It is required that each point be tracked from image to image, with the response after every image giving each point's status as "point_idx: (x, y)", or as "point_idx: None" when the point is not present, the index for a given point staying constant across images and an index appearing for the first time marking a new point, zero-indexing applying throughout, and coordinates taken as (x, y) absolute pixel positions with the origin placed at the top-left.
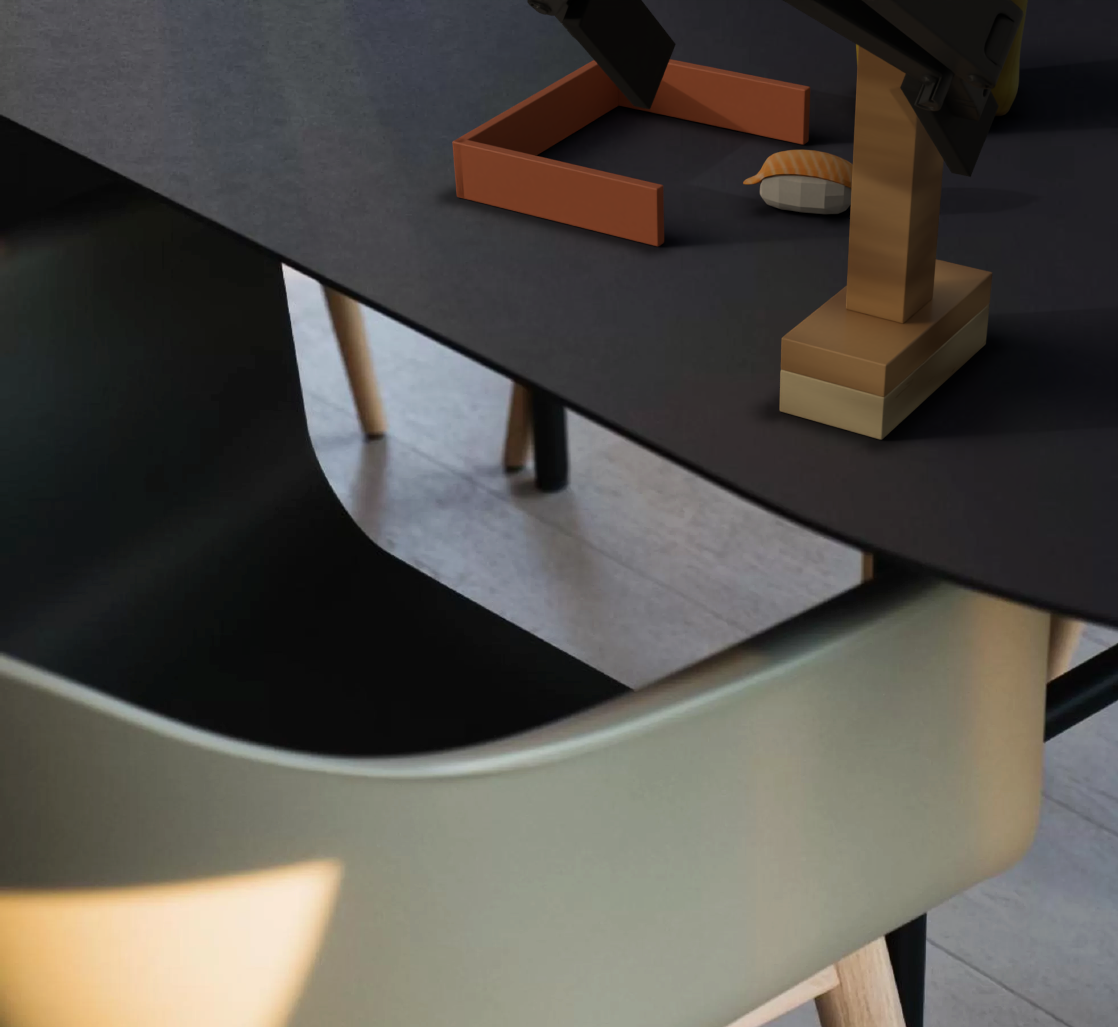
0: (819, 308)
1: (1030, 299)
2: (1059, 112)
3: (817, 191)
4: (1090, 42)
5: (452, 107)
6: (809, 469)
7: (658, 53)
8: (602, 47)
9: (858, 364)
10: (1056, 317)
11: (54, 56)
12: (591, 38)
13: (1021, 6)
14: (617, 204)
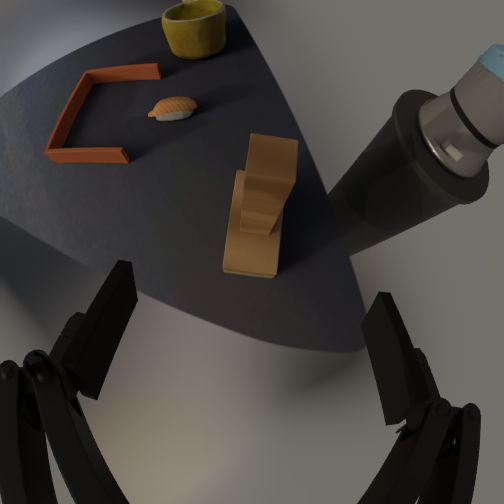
0: (228, 235)
1: None
2: (239, 41)
3: (179, 114)
4: (232, 12)
5: (44, 110)
6: (253, 310)
7: (127, 286)
8: (108, 364)
9: (262, 273)
10: None
11: None
12: (103, 381)
13: (225, 18)
14: (107, 156)
